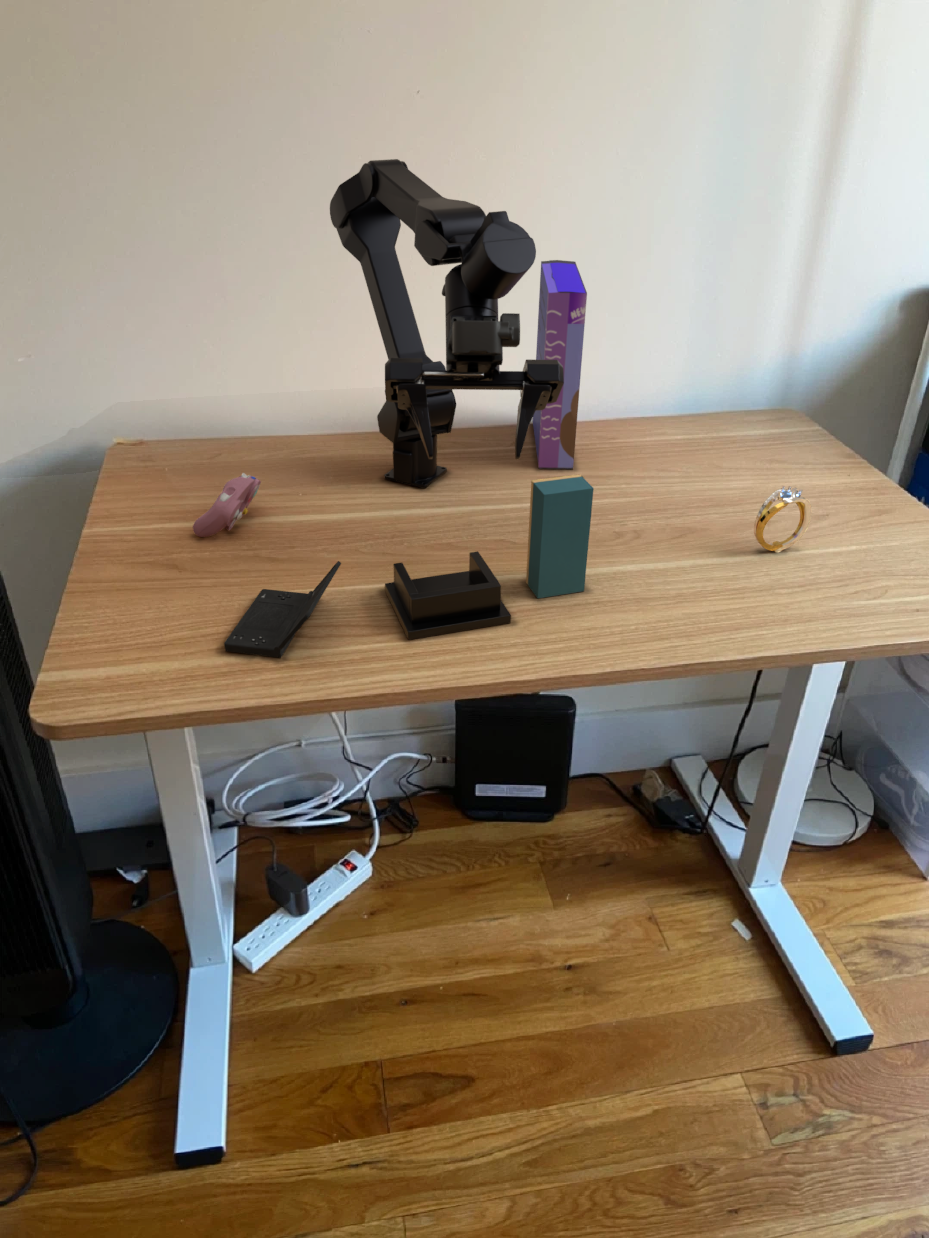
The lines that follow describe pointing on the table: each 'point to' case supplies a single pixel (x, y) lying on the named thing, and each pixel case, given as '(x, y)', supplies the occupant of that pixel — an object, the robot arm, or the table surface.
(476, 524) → the table surface
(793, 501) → the ring
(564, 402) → the cereal box
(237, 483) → the video game controller
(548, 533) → the teal rectangular block
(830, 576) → the table surface
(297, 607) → the handheld gaming console
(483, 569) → the black square holder
